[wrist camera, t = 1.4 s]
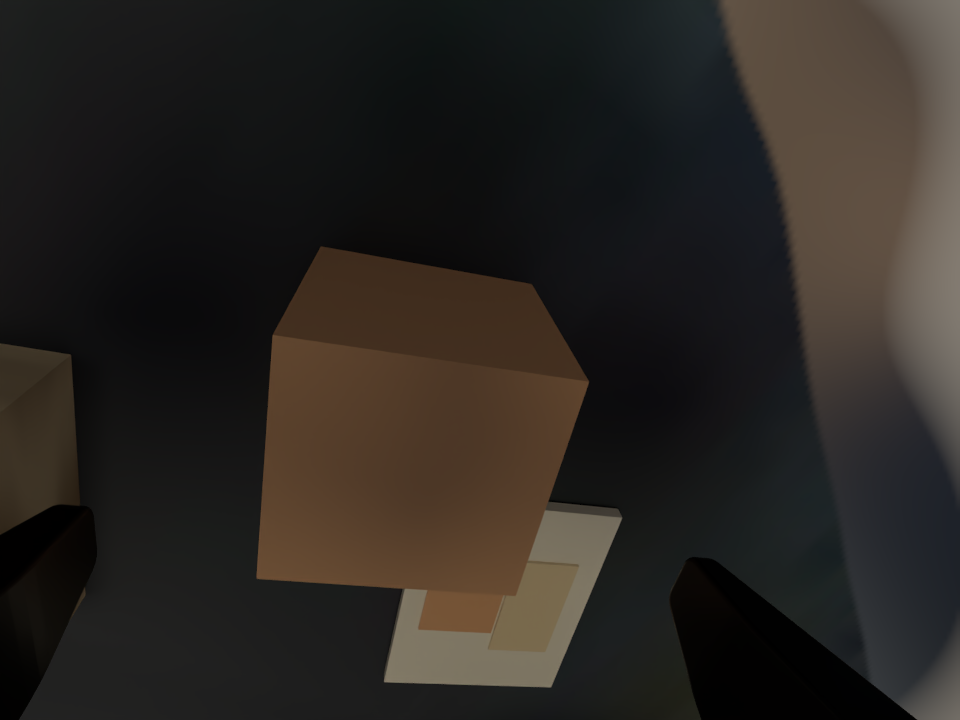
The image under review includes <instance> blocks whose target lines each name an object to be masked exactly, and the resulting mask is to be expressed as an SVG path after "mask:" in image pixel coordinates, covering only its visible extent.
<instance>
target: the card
mask: <svg viewBox="0 0 960 720" xmlns="http://www.w3.org/2000/svg"><path fill="white" fill-rule="evenodd" d="M621 520H622V516H621V514H620V512H619V510H618V509H616V508H606V507H596V506H586V505H576V504H566V503H556V502H548V503H547V506H546V509H545V512H544V515H543V518H542V521H541V524H540V527H539V530H538V533H537V535H536V538H535V541H534V544H533V547H532V550H531V553H530V556H529V559H528V562H527V565H526V568H525V570H524V573H523V576H522V579H521V582H520V585H519V588H518V591H517V594H516V596H507V595H492V594H477V593H462V592H447V591H432V590H417V589H402V593H401V598H400V602H399V607H398V612H397V616H396V621H395V625H394V630H393V634H392V639H391V643H390V648H389V652H388V657H387V661H386V666H385V670H384V682H396V683H428V684H460V685H492V686H524V687H551V686H552V684H553V681H554V679H555V676H556V674H557V672H558V669H559V667H560V665H561V662H562V660H563V657H564V655H565V653H566V650H567V648H568V646H569V643H570V641H571V638H572V636H573V634H574V631H575V629H576V627H577V624H578V622H579V620H580V617H581V615H582V612H583V610H584V608H585V605H586V603H587V601H588V598H589V596H590V593H591V591H592V589H593V586H594V584H595V582H596V579H597V577H598V574H599V572H600V570H601V567H602V565H603V563H604V560H605V558H606V555H607V553H608V551H609V548H610V546H611V544H612V541H613V539H614V536H615V534H616V532H617V529H618V527H619V525H620V522H621Z"/></svg>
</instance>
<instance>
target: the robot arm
mask: <svg viewBox="0 0 960 720" xmlns="http://www.w3.org/2000/svg"><path fill="white" fill-rule="evenodd" d="M96 557H97V545H96V535H95V525H94V516H93V512H92V510H91V509H90V508H88V507H86V506H76V505H64V504H59V505H54V506H52V507H49V508H47V509H46V510H44V511H42V512H40V513H38V514H37V515H35V516H33V517H31V518H29V519H27V520H26V521H24V522H22V523H20V524H18V525H16V526H15V527H13V528H11V529H9V530H7V531H6V532H4V533H2V534H0V720H19V719H20V717H21V715H22V714H23V712H24V710H25V709H26V707H27V705H28V703H29V702H30V700H31V698H32V696H33V695H34V693H35V691H36V689H37V687H38V686H39V684H40V682H41V680H42V678H43V676H44V674H45V672H46V670H47V668H48V666H49V664H50V662H51V659H52V657H53V655H54V653H55V651H56V649H57V646H58V644H59V642H60V640H61V638H62V636H63V633H64V631H65V629H66V627H67V625H68V623H69V620H70V618H71V616H72V614H73V612H74V610H75V607H76V605H77V603H78V601H79V599H80V597H81V594H82V592H83V590H84V588H85V586H86V583H87V581H88V579H89V577H90V575H91V573H92V570H93V568H94V565H95V562H96ZM669 602H670V609H671V613H672V616H673V620H674V624H675V628H676V632H677V636H678V639H679V643H680V647H681V651H682V655H683V658H684V662H685V666H686V670H687V674H688V678H689V681H690V685H691V689H692V692H693V695H694V699H695V702H696V705H697V708H698V711H699V714H700V717H701V720H917V719H915V718H914V717H913V716H912V715H910V714H909V713H908V712H907V711H905V710H904V709H903V708H901V707H900V706H899V705H898V704H896V703H895V702H894V701H893V700H891V699H890V698H889V697H888V696H886V695H885V694H884V693H883V692H881V691H880V690H879V689H878V688H876V687H875V686H874V685H872V684H871V683H870V682H869V681H867V680H866V679H865V678H864V677H862V676H861V675H860V674H859V673H857V672H856V671H855V670H853V669H852V668H851V667H850V666H848V665H847V664H846V663H845V662H843V661H842V660H841V659H840V658H838V657H837V656H836V655H834V654H833V653H832V652H831V651H829V650H828V649H827V648H826V647H824V646H823V645H822V644H821V643H819V642H818V641H817V640H815V639H814V638H813V637H812V636H810V635H809V634H808V633H807V632H805V631H804V630H803V629H802V628H800V627H799V626H798V625H796V624H795V623H794V622H793V621H791V620H790V619H789V618H788V617H786V616H785V615H784V614H783V613H781V612H780V611H779V610H777V609H776V608H775V607H774V606H772V605H771V604H770V603H769V602H767V601H766V600H765V599H764V598H762V597H761V596H760V595H759V594H757V593H756V592H755V591H753V590H752V589H751V588H750V587H748V586H747V585H746V584H745V583H743V582H742V581H741V580H740V579H738V578H737V577H736V576H734V575H733V574H732V573H731V572H729V571H728V570H727V569H726V568H724V567H723V566H722V565H721V564H719V563H718V562H717V561H715V560H713V559H709V558H698V557H691V558H689V559H688V560H686V561H685V563H684V565H683V567H682V569H681V571H680V573H679V575H678V577H677V579H676V581H675V583H674V585H673V587H672V589H671V591H670V597H669Z"/></svg>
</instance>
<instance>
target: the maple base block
mask: <svg viewBox="0 0 960 720" xmlns="http://www.w3.org/2000/svg"><path fill="white" fill-rule="evenodd" d="M59 504H64V505H76V506H80V494H79V478H78V461H77V444H76V428H75V411H74V394H73V378H72V361H71V355H70V354H64V353H58V352H51V351H45V350H39V349H32V348H26V347H20V346H13V345H7V344H1V343H0V534H2V533H4V532H6V531H7V530H9V529H11V528H13V527H15V526H16V525H18V524H20V523H22V522H24V521H26V520H27V519H29V518H31V517H33V516H35V515H37V514H38V513H40V512H42V511H44V510H46V509H47V508H49V507H52V506H54V505H59ZM85 595H86V594H85V588H84V590H83V592H82V594H81V597H80V599H79V601H78V603H77V605H76V607H75V610H74V612H73V614H74V613H75V611H76V609H77V608H78V606H79V605H80V603H81V601H82V600H83V598H84V597H85ZM73 614H72V616H73ZM72 616H71V617H72ZM70 619H71V618H70ZM69 621H70V620H69Z"/></svg>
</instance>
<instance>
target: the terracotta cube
mask: <svg viewBox="0 0 960 720" xmlns="http://www.w3.org/2000/svg"><path fill="white" fill-rule="evenodd" d="M588 384H589V381H588V379H587V377H586V376H585V374H584V372H583V370H582V369H581V367H580V365H579V364H578V362H577V360H576V359H575V357H574V355H573V353H572V352H571V350H570V348H569V347H568V345H567V343H566V341H565V340H564V338H563V336H562V335H561V333H560V331H559V330H558V328H557V326H556V324H555V323H554V321H553V319H552V318H551V316H550V314H549V313H548V311H547V309H546V307H545V306H544V304H543V302H542V301H541V299H540V297H539V296H538V294H537V292H536V290H535V289H534V287H533V285H532V284H528V283H523V282H517V281H511V280H506V279H500V278H495V277H489V276H484V275H478V274H472V273H467V272H461V271H456V270H450V269H445V268H439V267H433V266H428V265H422V264H417V263H411V262H406V261H400V260H394V259H389V258H383V257H378V256H372V255H367V254H361V253H355V252H350V251H344V250H339V249H333V248H327V247H322V246H321V247H320V249H319V251H318V253H317V254H316V256H315V258H314V260H313V262H312V264H311V265H310V267H309V269H308V271H307V273H306V275H305V276H304V278H303V280H302V282H301V284H300V286H299V287H298V289H297V291H296V293H295V295H294V297H293V299H292V300H291V302H290V304H289V306H288V308H287V310H286V311H285V313H284V315H283V317H282V319H281V321H280V322H279V324H278V326H277V328H276V330H275V332H274V333H273V337H272V352H271V367H270V382H269V397H268V413H267V428H266V443H265V458H264V473H263V488H262V503H261V519H260V534H259V549H258V564H257V579H267V580H282V581H297V582H312V583H327V584H342V585H357V586H372V587H387V588H402V589H417V590H432V591H447V592H462V593H477V594H492V595H507V596H516V594H517V591H518V588H519V585H520V582H521V579H522V576H523V573H524V570H525V568H526V565H527V562H528V559H529V556H530V553H531V550H532V547H533V544H534V541H535V538H536V535H537V533H538V530H539V527H540V524H541V521H542V518H543V515H544V512H545V509H546V506H547V503H548V500H549V498H550V495H551V492H552V489H553V486H554V483H555V480H556V477H557V474H558V471H559V468H560V466H561V463H562V460H563V457H564V454H565V451H566V448H567V445H568V442H569V439H570V436H571V433H572V431H573V428H574V425H575V422H576V419H577V416H578V413H579V410H580V407H581V404H582V401H583V399H584V396H585V393H586V390H587V387H588Z"/></svg>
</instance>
